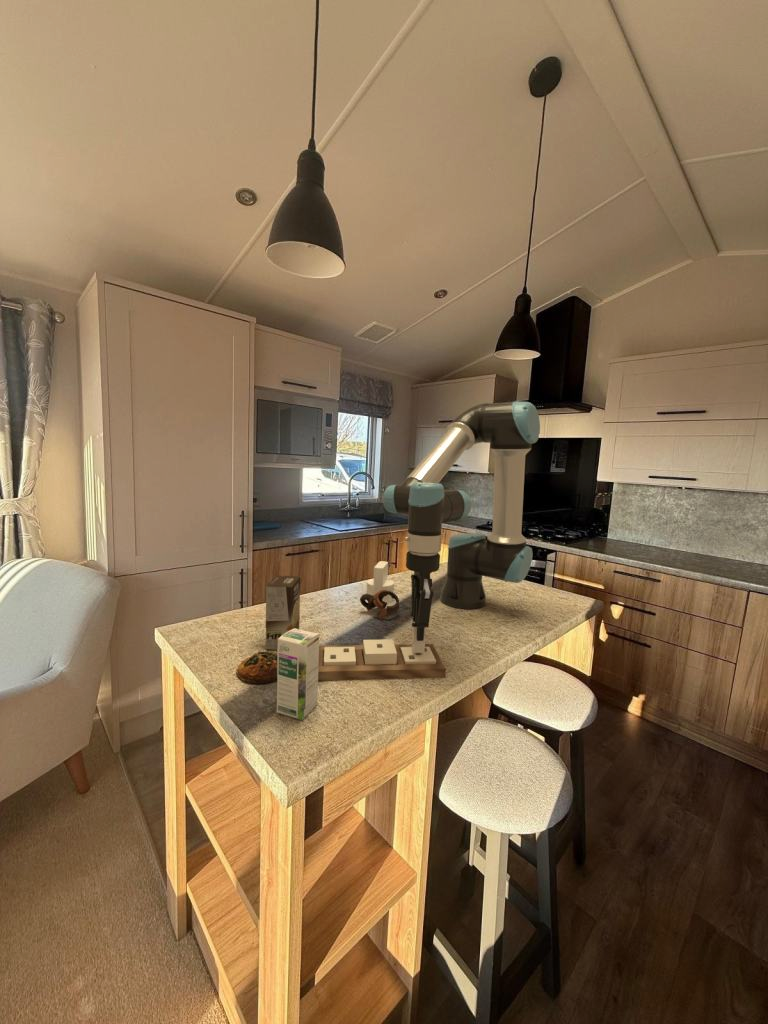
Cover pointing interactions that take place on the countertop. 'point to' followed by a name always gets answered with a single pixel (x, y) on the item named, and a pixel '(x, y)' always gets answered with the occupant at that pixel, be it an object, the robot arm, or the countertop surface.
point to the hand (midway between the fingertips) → (418, 651)
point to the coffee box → (281, 608)
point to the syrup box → (297, 673)
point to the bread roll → (259, 668)
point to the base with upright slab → (381, 581)
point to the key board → (380, 667)
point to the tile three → (417, 656)
